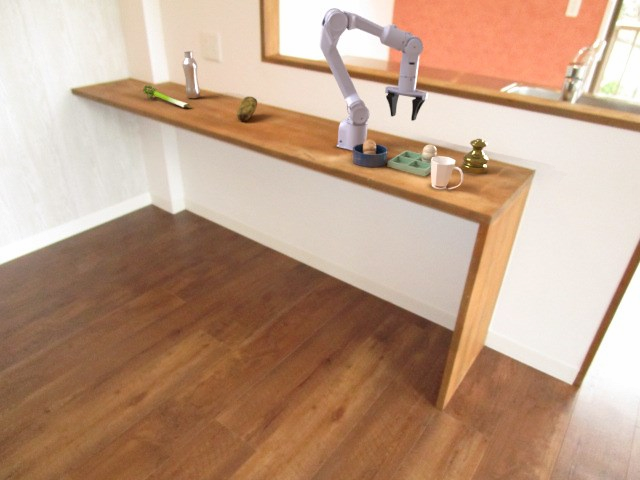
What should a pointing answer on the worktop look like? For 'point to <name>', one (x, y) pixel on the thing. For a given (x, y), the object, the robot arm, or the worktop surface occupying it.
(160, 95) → the leek
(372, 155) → the bowl
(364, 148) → the brown egg
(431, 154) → the cream egg
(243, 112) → the potato
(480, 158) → the gold decorative ornament
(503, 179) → the worktop surface
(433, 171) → the cup
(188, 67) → the plastic bottle
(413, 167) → the tray
